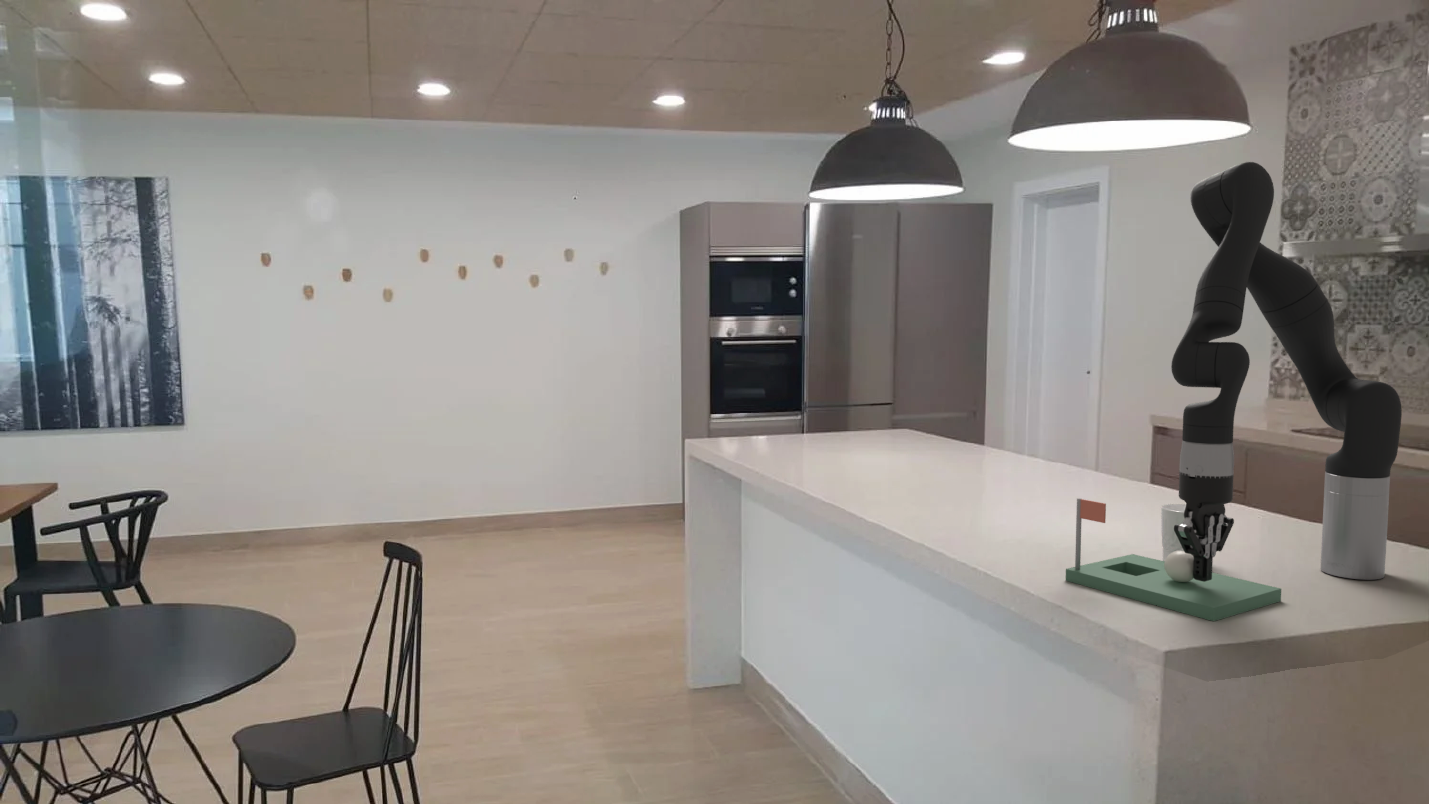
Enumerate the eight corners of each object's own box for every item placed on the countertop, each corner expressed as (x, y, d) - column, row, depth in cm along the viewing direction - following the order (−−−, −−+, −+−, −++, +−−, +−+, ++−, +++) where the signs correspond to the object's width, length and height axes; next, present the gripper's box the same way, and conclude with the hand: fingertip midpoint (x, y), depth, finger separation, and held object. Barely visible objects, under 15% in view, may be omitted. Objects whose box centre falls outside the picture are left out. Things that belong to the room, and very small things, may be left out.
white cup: (1166, 555, 180) (1168, 501, 179) (1212, 561, 175) (1214, 507, 174) (1154, 563, 174) (1155, 509, 173) (1202, 571, 169) (1204, 514, 168)
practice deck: (1132, 565, 173) (1134, 487, 172) (1280, 601, 151) (1284, 512, 150) (1065, 580, 164) (1067, 498, 163) (1213, 621, 142) (1217, 527, 140)
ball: (1201, 583, 155) (1172, 570, 159) (1208, 554, 154) (1178, 542, 158) (1184, 590, 152) (1155, 577, 156) (1190, 561, 151) (1161, 549, 155)
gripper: (1207, 464, 157) (1203, 569, 159) (1158, 471, 150) (1154, 581, 152) (1253, 469, 151) (1249, 579, 153) (1204, 477, 144) (1200, 592, 145)
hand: (1202, 579), depth 152 cm, fingers closed
